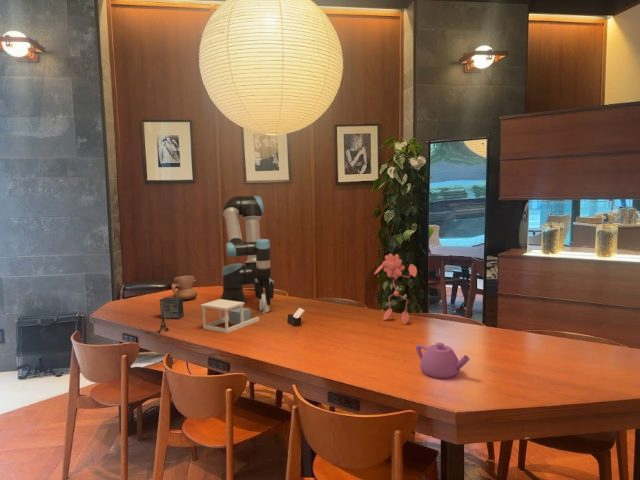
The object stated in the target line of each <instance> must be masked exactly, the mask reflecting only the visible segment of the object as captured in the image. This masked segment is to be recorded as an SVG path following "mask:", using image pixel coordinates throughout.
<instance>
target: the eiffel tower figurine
mask: <svg viewBox="0 0 640 480" xmlns="http://www.w3.org/2000/svg"><path fill="white" fill-rule="evenodd" d="M165 321H166V320H165V319H164V315H163V308H162V319H161V321H160V326H159V329H158V331H157V333H151V331H145V332H144V334H148V335H153V336H157V335H160V334H162V333H160V332H161V331H165V332H164V333H166V332H169V331H170V330H171V329H170V328H169V327H168V326H167V325H166V324H167V323H166V322H165Z"/></svg>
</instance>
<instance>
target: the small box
mask: <svg viewBox="0 0 640 480" xmlns="http://www.w3.org/2000/svg"><path fill="white" fill-rule="evenodd" d="M159 305H160V306H159V307H160V319H161V320H162V308H163V315H164V320H179V319H181V318H183V317H184V301H183V298H174V297H163V298H161V299H159Z"/></svg>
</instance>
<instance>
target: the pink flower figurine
mask: <svg viewBox="0 0 640 480" xmlns="http://www.w3.org/2000/svg"><path fill="white" fill-rule="evenodd" d="M384 258H385V259H384V260H383V262H381V264H380V266H378V267H377V269H375V271H374V274H373V275H376V274H378V273H379V272H380V271H381V270H382V269H383V272H385V273H386V275H387V278H394V279H393V280H392V283H393V288H394V292H393V294H391V295H388V307H389V308H388V309H386V311H385V312H384V313H383V316H382V317H383V319H382V320H383V321H386V320H388V319H389V318H390V316H391V318H392V320H394V319H395V318H394V316H393V309H392V308H391V303H390V298H391V297H392V296H395V297H398V296H399V297H401V298H403V299H405V300H406V304H405V310H404V311H403V312H402V314H401V315H400V316H401V321H402V322H403V324H404V325H406V324H408V323H409V319H410V316H409V313H408V311H407V306H408V299H407V298H405V297H404V296H403V295H400V291H398V290H397V288H396V284H395V281H396V280H397V279H398V278H399V277H404V278H407V279H410V277H411V276H412V277H413V278H416V276H417V273H418V270H417V269H418V268H417V267H416V266H415V265H414V264H412V263H410V264H409V266H408V272H409V273H408V275H409V276H408V275H403V273H402V272H403V271H404V270H405V268H406V267H405V265H403V263H402V262H403V260H402V259H400V256H399V254H398V253H396V254H395V255H393V254H392V253H388V255H385V256H384ZM377 325H378V326H381V327H383V328H386V326H383V325H381V324H379V323H378V324H377ZM387 328H388V329H391V327H387ZM394 329H395V330H396V329H399V330H400V327H394Z"/></svg>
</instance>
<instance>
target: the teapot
mask: <svg viewBox="0 0 640 480" xmlns="http://www.w3.org/2000/svg"><path fill="white" fill-rule="evenodd" d="M415 349H416V353H417V355H418V357H419V359H420V363H419V367H420V369H421V371H422V373H424V375H426V376H428V377H431V378H436V379H450V378H453V377H456V375H457V374H458V373H459V372H460V371H461V369H462V368H463V367H464V366H465V365H466V364H467V363H468V362H469V361H470V359H471V358H470V357H469V356H468V355H466V354H464V355H463V356H462V357H461V358H460V359H458V357H457V354H456V353H455V351H454V350H453V349H452V347H450V346H448V345H445V344H444V343H443V342H436V343H435V344H433V345H430V346H425V345H423V344H416V346H415ZM421 349H423V350H425V351H424V353H422V350H421Z"/></svg>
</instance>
